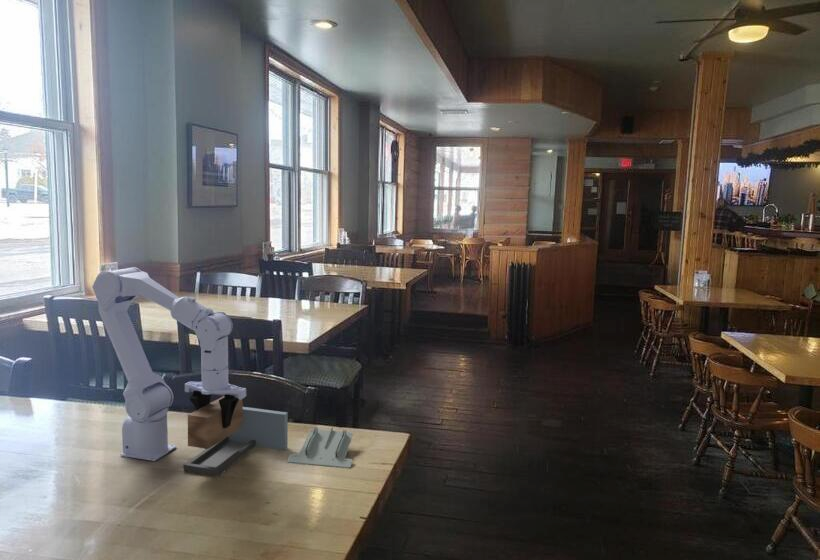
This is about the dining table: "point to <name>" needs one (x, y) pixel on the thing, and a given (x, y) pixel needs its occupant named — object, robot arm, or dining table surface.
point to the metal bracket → (324, 449)
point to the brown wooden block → (212, 424)
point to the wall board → (243, 441)
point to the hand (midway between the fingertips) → (215, 424)
